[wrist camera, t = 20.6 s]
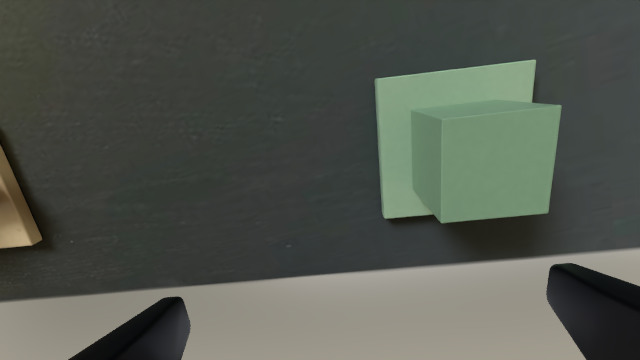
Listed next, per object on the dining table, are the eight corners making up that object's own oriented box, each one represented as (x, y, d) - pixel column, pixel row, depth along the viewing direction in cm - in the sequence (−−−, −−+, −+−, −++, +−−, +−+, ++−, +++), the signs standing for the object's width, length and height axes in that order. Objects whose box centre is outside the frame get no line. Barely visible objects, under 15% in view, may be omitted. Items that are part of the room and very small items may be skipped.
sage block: (492, 180, 17) (548, 213, 13) (412, 189, 17) (441, 223, 13) (497, 99, 16) (562, 105, 11) (410, 109, 16) (441, 118, 12)
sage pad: (514, 201, 18) (522, 206, 17) (382, 213, 19) (384, 219, 18) (526, 60, 16) (536, 59, 15) (374, 79, 16) (376, 78, 15)
